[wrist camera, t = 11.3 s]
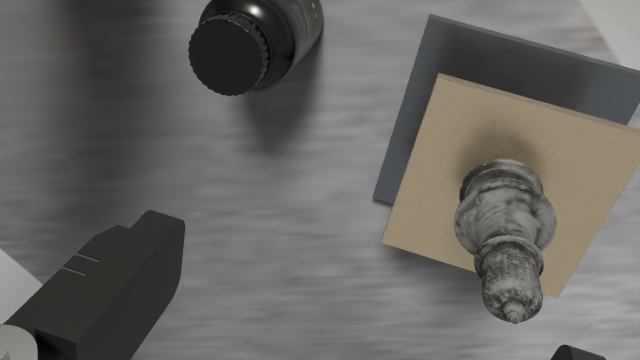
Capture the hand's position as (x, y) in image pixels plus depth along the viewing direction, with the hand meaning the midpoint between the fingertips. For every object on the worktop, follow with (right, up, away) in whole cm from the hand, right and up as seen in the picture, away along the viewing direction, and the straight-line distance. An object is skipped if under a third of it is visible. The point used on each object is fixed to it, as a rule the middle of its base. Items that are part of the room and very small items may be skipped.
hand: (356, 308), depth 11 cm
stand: (+13, +6, +32) cm, 35 cm away
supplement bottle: (-4, +16, +31) cm, 35 cm away
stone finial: (+11, +2, +24) cm, 27 cm away
